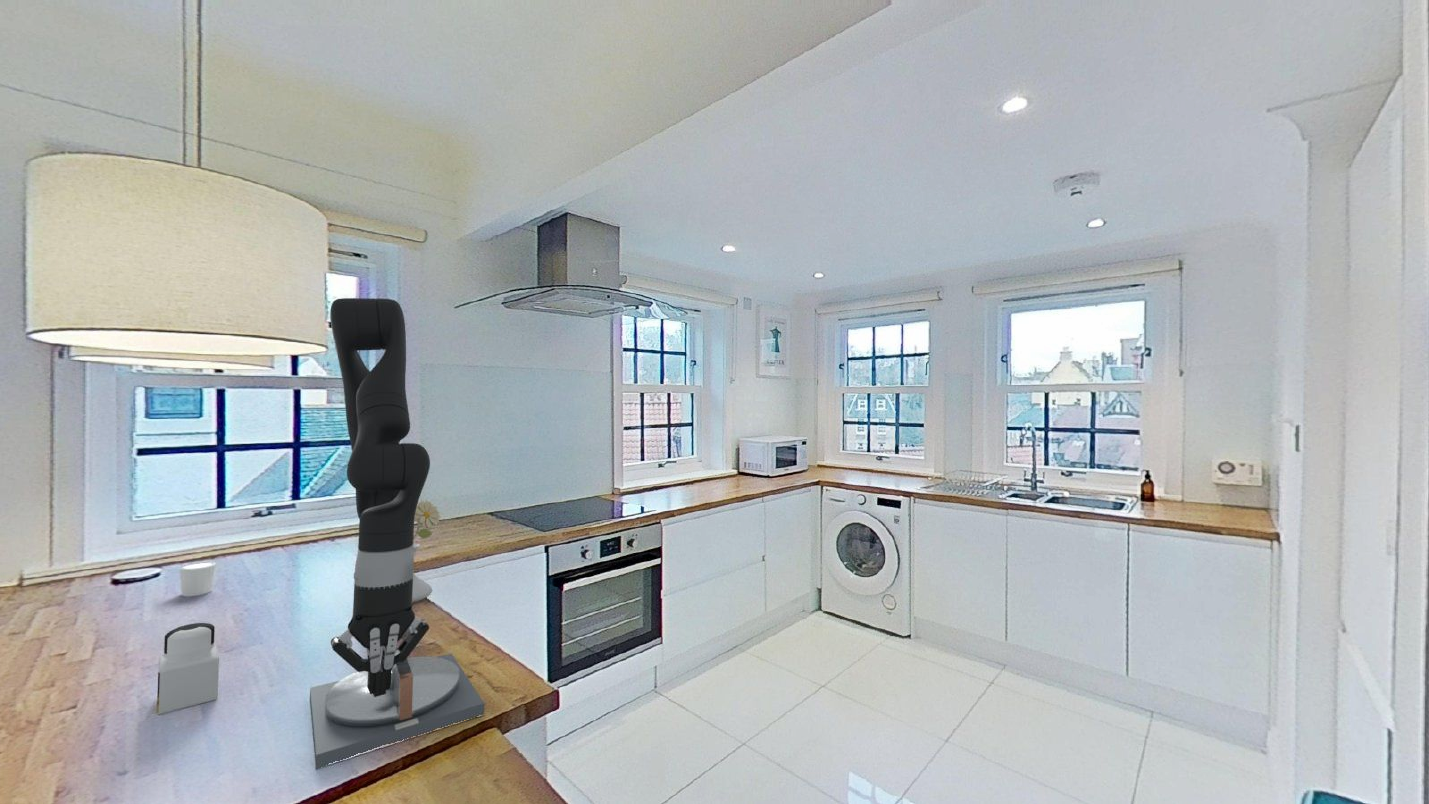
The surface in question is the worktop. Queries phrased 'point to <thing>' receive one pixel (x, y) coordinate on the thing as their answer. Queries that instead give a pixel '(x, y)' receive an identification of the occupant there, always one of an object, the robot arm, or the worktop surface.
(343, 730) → the plinth
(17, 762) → the worktop surface
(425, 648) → the worktop surface
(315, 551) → the worktop surface
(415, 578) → the flower in vase
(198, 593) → the white cup
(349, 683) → the rotary knob
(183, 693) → the grey handled container
